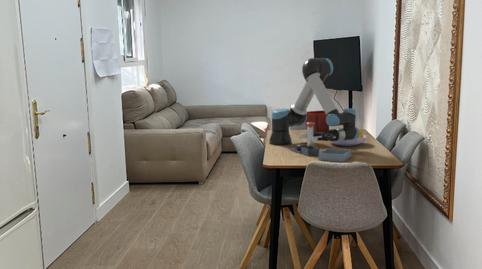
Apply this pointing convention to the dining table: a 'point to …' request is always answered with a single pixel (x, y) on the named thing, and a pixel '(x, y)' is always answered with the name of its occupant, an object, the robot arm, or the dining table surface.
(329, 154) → the tray
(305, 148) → the bracket
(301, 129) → the dining table surface
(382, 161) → the dining table surface
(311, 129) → the lock pin
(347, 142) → the fruit bowl
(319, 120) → the plant pot
